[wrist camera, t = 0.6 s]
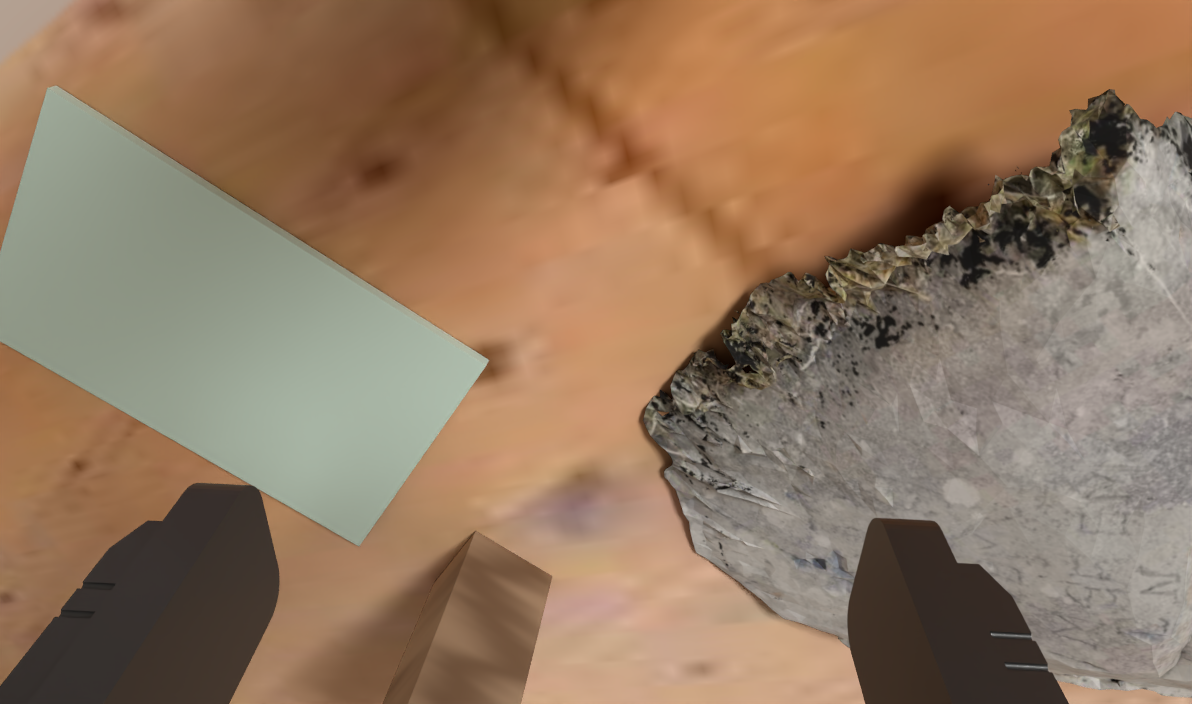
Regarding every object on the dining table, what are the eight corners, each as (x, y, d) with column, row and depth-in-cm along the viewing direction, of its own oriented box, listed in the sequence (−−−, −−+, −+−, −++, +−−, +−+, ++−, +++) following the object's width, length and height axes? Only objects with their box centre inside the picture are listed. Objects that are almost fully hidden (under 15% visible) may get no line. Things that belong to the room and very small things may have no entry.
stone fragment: (1024, 750, 43) (1069, 877, 38) (584, 464, 38) (559, 564, 32) (1564, 458, 31) (1747, 582, 26) (1030, -21, 26) (1115, 4, 20)
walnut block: (552, 576, 40) (489, 832, 29) (507, 625, 42) (431, 883, 31) (475, 531, 40) (380, 775, 28) (433, 583, 42) (328, 831, 30)
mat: (489, 360, 35) (486, 365, 35) (362, 539, 41) (359, 546, 40) (56, 85, 32) (47, 87, 31) (-14, 324, 38) (-23, 328, 37)
